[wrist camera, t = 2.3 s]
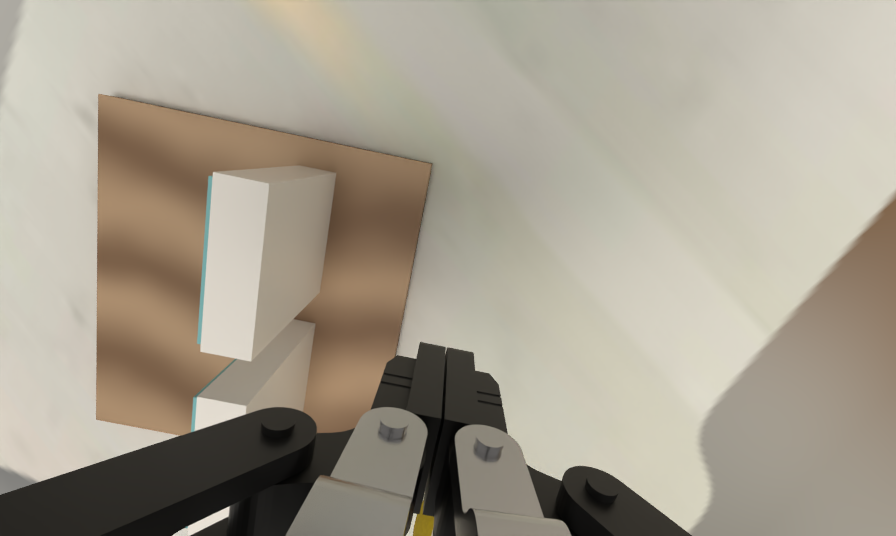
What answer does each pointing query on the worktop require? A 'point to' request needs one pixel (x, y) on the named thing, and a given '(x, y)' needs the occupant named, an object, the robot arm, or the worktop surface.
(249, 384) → the tile far
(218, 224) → the tile near
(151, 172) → the board
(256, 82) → the worktop surface
